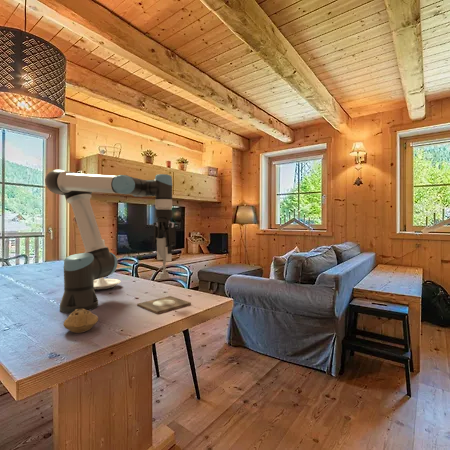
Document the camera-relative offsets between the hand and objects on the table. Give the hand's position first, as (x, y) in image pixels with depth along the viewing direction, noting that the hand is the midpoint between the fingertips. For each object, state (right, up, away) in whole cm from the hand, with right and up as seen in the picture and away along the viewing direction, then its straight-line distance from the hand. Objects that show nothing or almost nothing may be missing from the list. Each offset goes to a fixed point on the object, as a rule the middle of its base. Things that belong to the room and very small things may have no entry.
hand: (164, 260), depth 131 cm
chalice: (0, -8, 0) cm, 8 cm away
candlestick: (-44, -20, +31) cm, 58 cm away
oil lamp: (-24, -21, -28) cm, 43 cm away
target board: (0, -20, 0) cm, 20 cm away
